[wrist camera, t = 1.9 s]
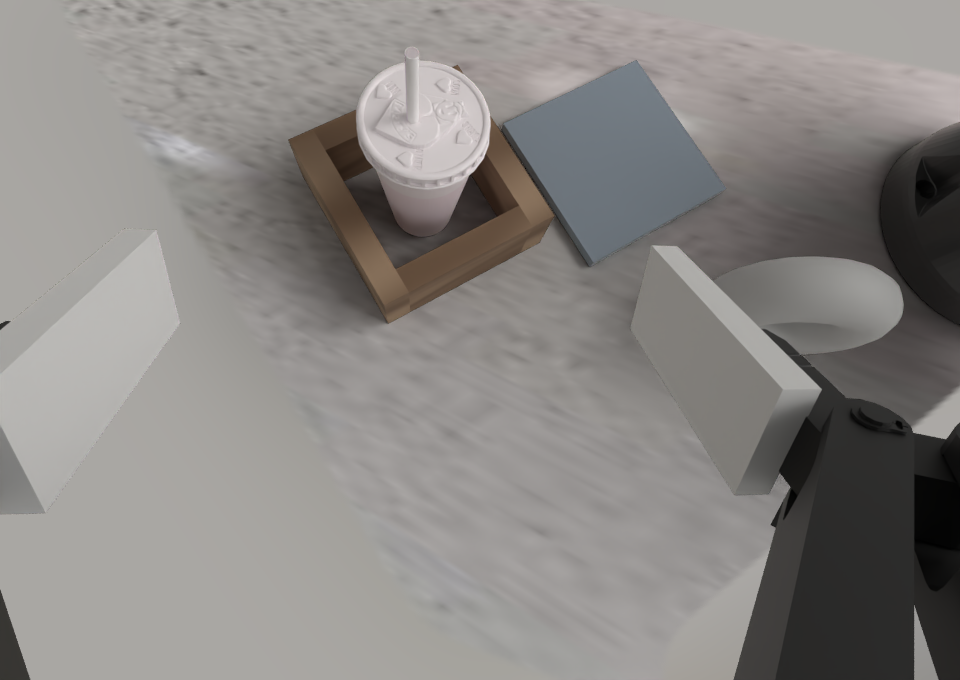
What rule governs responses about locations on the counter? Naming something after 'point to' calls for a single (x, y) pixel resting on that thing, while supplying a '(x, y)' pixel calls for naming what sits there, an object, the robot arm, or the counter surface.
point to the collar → (399, 291)
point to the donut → (816, 301)
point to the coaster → (612, 161)
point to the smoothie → (422, 138)
